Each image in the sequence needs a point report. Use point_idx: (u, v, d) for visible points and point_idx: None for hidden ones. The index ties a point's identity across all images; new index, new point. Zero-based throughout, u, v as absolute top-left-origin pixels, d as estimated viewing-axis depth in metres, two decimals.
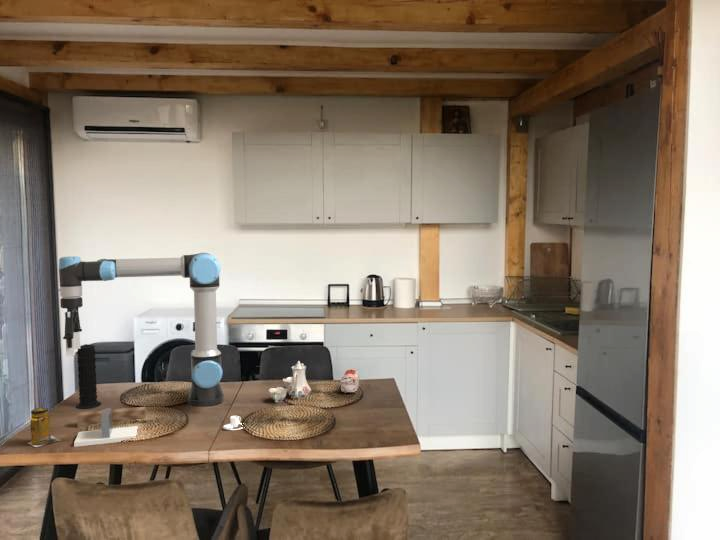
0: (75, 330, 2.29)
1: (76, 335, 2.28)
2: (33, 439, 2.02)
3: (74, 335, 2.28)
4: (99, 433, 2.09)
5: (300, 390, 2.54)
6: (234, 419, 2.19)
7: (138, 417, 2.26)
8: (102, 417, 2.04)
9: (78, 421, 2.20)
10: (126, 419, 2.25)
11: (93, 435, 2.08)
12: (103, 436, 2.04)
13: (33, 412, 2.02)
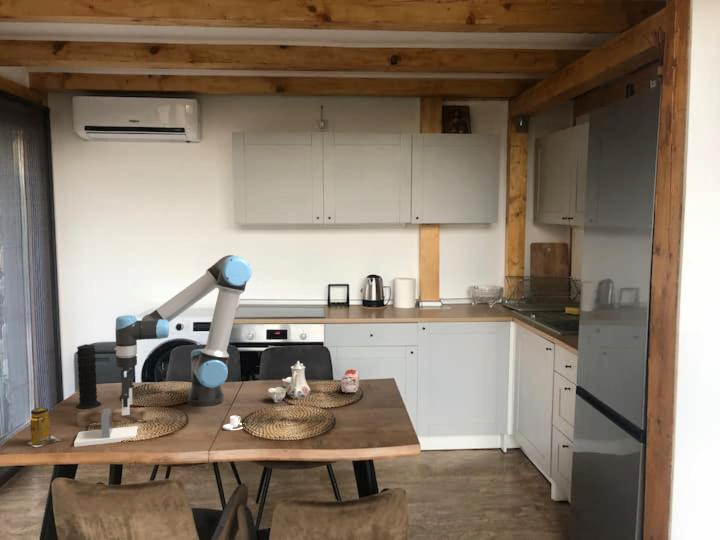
0: None
1: (128, 391, 2.32)
2: (33, 439, 2.02)
3: None
4: (99, 433, 2.09)
5: (299, 390, 2.54)
6: (234, 419, 2.19)
7: (137, 418, 2.24)
8: (102, 417, 2.04)
9: (78, 420, 2.21)
10: (125, 420, 2.24)
11: (93, 435, 2.08)
12: (103, 436, 2.04)
13: (33, 412, 2.02)
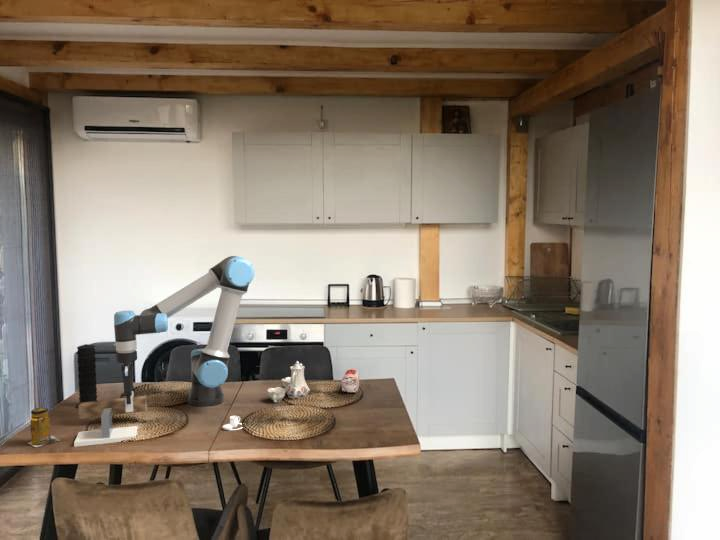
0: None
1: None
2: (33, 439, 2.02)
3: None
4: (99, 433, 2.09)
5: (298, 390, 2.54)
6: (233, 419, 2.19)
7: (139, 406, 2.26)
8: (102, 417, 2.04)
9: (80, 411, 2.21)
10: None
11: (93, 435, 2.08)
12: (103, 436, 2.04)
13: (33, 412, 2.02)
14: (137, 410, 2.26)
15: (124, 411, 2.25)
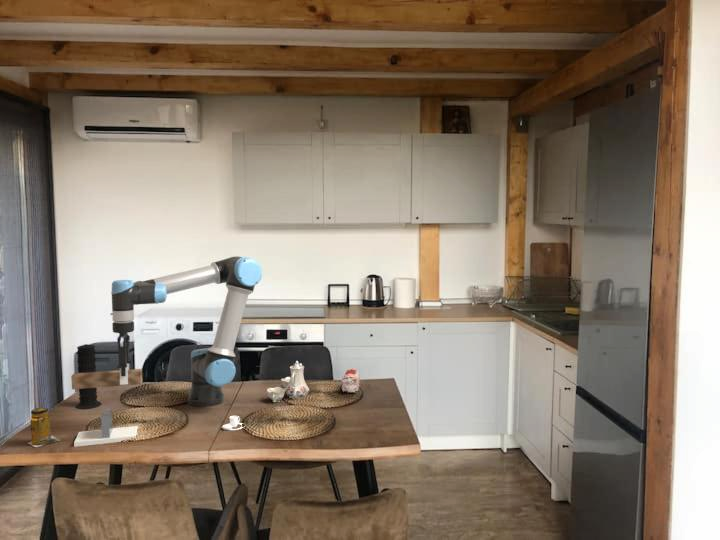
0: None
1: None
2: (33, 439, 2.02)
3: None
4: (99, 433, 2.09)
5: (298, 390, 2.54)
6: (233, 419, 2.19)
7: (134, 379, 2.18)
8: (102, 417, 2.04)
9: (72, 382, 2.14)
10: None
11: (93, 435, 2.08)
12: (103, 436, 2.04)
13: (33, 412, 2.02)
14: (132, 383, 2.18)
15: (118, 383, 2.17)
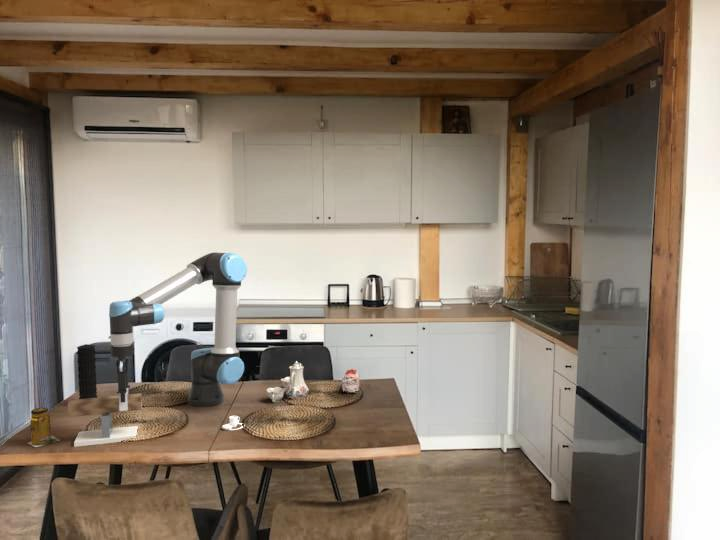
0: None
1: None
2: (33, 439, 2.02)
3: None
4: (99, 433, 2.09)
5: (297, 390, 2.54)
6: (233, 419, 2.19)
7: (134, 404, 2.09)
8: (102, 417, 2.04)
9: (69, 409, 2.03)
10: None
11: (93, 435, 2.08)
12: (103, 436, 2.04)
13: (33, 412, 2.02)
14: (131, 409, 2.09)
15: (117, 410, 2.08)
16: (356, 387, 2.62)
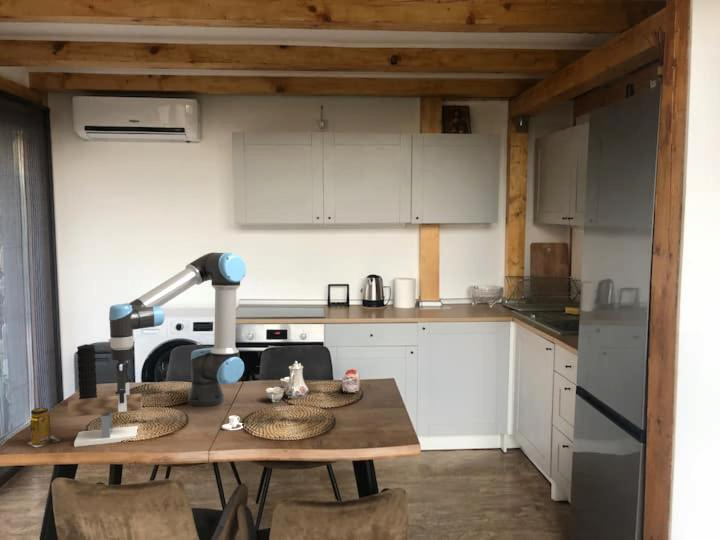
0: None
1: (125, 386, 2.16)
2: (33, 439, 2.02)
3: None
4: (99, 433, 2.09)
5: (297, 390, 2.54)
6: (233, 419, 2.19)
7: (134, 405, 2.09)
8: (102, 417, 2.04)
9: (69, 409, 2.03)
10: None
11: (93, 435, 2.08)
12: (103, 436, 2.04)
13: (33, 412, 2.02)
14: (131, 409, 2.09)
15: (117, 410, 2.08)
16: (356, 387, 2.62)
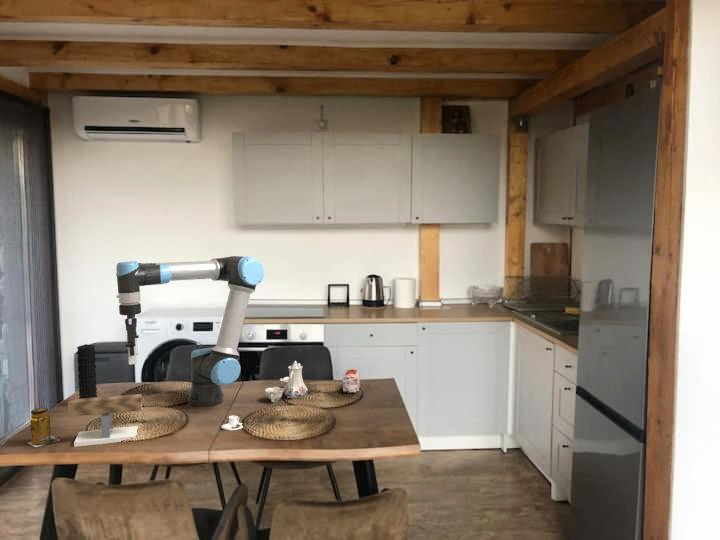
0: None
1: None
2: (33, 439, 2.02)
3: None
4: (99, 433, 2.09)
5: (296, 390, 2.54)
6: (232, 419, 2.19)
7: (134, 405, 2.09)
8: (102, 417, 2.04)
9: (69, 409, 2.03)
10: (121, 407, 2.08)
11: (93, 435, 2.08)
12: (103, 436, 2.04)
13: (33, 412, 2.02)
14: (131, 409, 2.09)
15: (117, 410, 2.08)
16: (357, 387, 2.62)
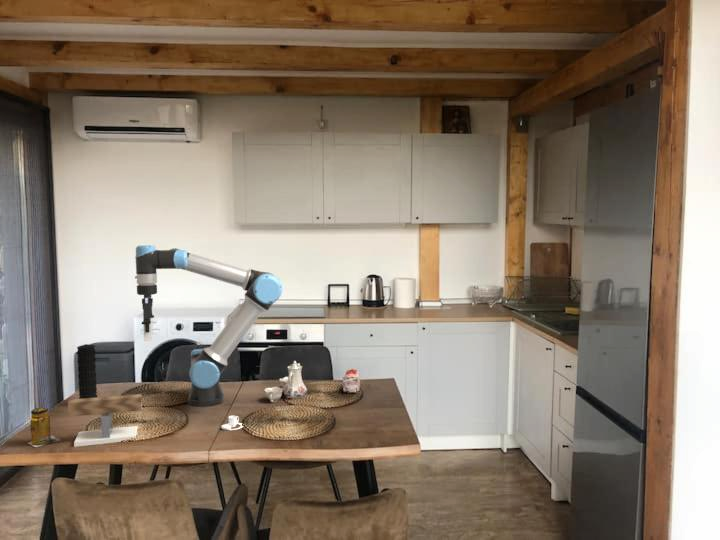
0: None
1: None
2: (33, 439, 2.02)
3: None
4: (99, 433, 2.09)
5: (295, 390, 2.54)
6: (232, 419, 2.19)
7: (134, 405, 2.09)
8: (102, 417, 2.04)
9: (69, 409, 2.03)
10: (121, 407, 2.08)
11: (93, 435, 2.08)
12: (103, 436, 2.04)
13: (33, 412, 2.02)
14: (131, 409, 2.09)
15: (117, 410, 2.08)
16: (357, 387, 2.62)
